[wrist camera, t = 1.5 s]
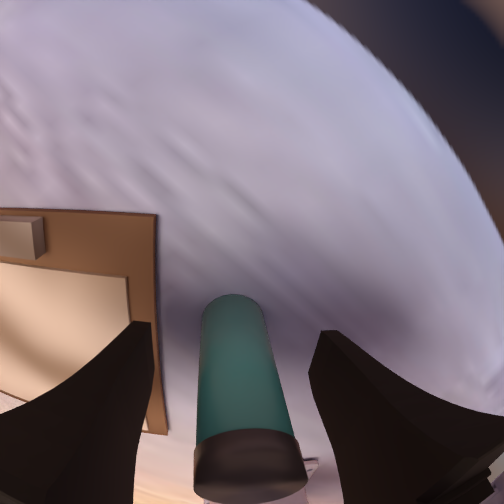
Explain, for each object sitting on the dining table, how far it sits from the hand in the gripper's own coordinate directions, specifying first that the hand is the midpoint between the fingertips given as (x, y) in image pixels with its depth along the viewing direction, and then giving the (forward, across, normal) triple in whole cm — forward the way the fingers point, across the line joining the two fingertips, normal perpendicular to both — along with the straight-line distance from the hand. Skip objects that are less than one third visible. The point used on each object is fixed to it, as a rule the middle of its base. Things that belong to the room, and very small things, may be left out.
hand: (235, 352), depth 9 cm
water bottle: (+2, 0, 0) cm, 2 cm away
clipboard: (+2, +11, +2) cm, 11 cm away
